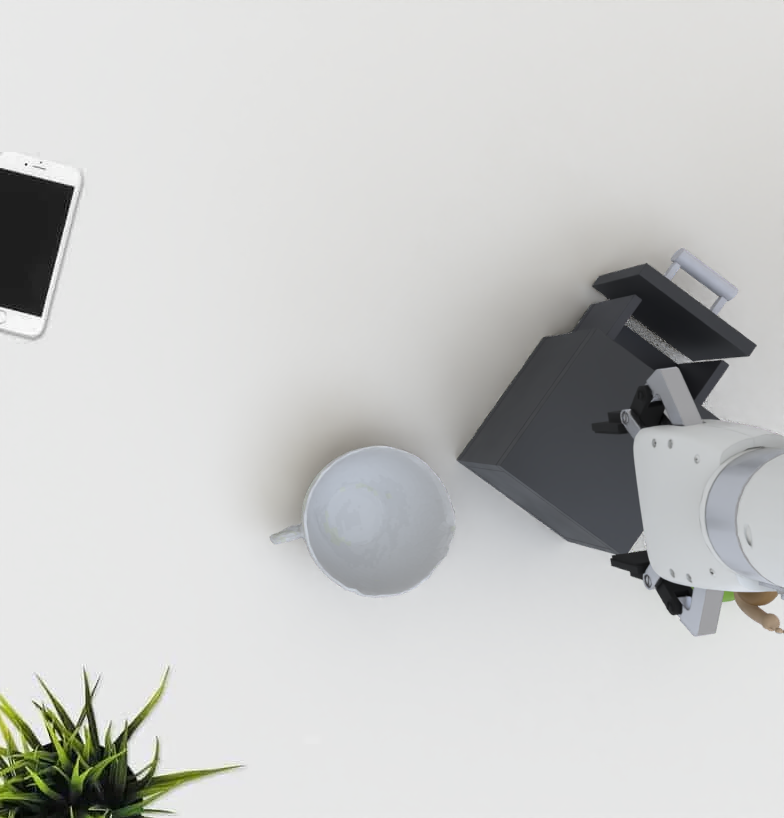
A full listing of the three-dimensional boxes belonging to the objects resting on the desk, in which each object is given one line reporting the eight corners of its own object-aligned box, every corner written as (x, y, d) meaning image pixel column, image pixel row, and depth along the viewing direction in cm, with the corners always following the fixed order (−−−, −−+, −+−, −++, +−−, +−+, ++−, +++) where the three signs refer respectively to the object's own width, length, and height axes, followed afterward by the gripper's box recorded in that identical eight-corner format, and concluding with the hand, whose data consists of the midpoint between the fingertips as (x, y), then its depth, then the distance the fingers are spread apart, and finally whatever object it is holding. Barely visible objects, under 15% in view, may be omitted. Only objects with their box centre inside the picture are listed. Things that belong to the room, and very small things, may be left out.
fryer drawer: (625, 238, 90) (675, 221, 82) (726, 313, 91) (786, 304, 83) (518, 388, 90) (559, 386, 82) (621, 463, 90) (671, 468, 82)
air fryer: (543, 337, 91) (597, 327, 81) (654, 419, 91) (721, 419, 82) (456, 460, 91) (500, 465, 81) (568, 542, 91) (625, 557, 81)
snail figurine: (665, 602, 91) (752, 631, 79) (675, 533, 91) (763, 551, 80) (722, 610, 92) (817, 640, 80) (732, 541, 92) (828, 560, 80)
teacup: (410, 431, 90) (441, 433, 82) (435, 567, 90) (468, 582, 82) (248, 462, 90) (262, 466, 82) (273, 598, 90) (290, 617, 82)
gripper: (868, 662, 55) (687, 602, 72) (825, 351, 55) (654, 365, 72) (736, 682, 55) (586, 617, 72) (693, 370, 55) (553, 379, 72)
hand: (620, 491), depth 72 cm, fingers open, 9 cm apart
